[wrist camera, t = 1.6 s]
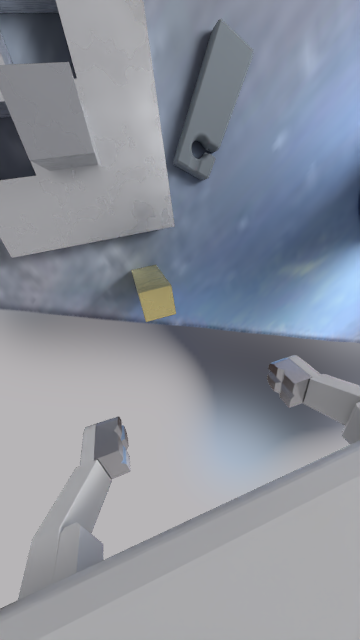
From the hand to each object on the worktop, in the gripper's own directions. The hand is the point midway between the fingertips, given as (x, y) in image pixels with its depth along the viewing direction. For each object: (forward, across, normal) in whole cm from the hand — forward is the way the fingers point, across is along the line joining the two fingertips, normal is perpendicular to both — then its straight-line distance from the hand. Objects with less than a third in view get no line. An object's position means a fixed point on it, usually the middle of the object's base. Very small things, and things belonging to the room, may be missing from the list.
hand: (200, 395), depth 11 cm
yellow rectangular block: (+20, 0, 0) cm, 20 cm away
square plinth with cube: (+20, +4, -14) cm, 24 cm away
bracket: (+20, -10, -15) cm, 27 cm away
